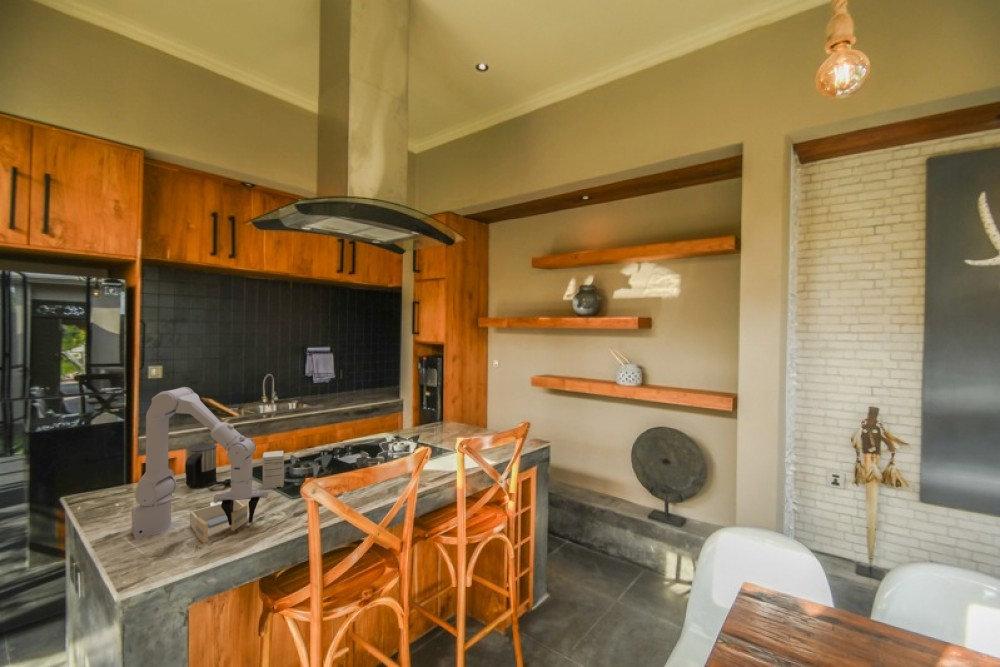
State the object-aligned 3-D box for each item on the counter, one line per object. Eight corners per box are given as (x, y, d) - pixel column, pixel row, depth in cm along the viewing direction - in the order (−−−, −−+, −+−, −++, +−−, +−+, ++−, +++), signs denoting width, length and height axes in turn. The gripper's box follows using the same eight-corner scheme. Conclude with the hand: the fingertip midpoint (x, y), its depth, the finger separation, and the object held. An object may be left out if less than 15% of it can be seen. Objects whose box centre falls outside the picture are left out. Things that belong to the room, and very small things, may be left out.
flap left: (195, 536, 131) (195, 518, 131) (199, 534, 132) (199, 516, 132) (203, 543, 127) (203, 524, 127) (207, 542, 128) (207, 523, 127)
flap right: (245, 521, 141) (245, 504, 141) (248, 521, 141) (248, 504, 141) (230, 530, 135) (230, 513, 134) (234, 531, 135) (234, 513, 134)
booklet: (210, 528, 136) (210, 525, 136) (203, 524, 138) (203, 521, 138) (231, 520, 141) (231, 518, 141) (224, 517, 143) (224, 514, 143)
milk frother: (192, 481, 175) (192, 444, 175) (238, 477, 181) (238, 441, 180) (182, 495, 162) (182, 455, 161) (231, 489, 168) (231, 451, 167)
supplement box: (263, 483, 174) (263, 452, 174) (284, 481, 177) (284, 450, 177) (262, 490, 168) (262, 457, 167) (283, 487, 171) (283, 455, 170)
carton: (197, 536, 132) (197, 519, 132) (190, 527, 137) (190, 511, 137) (245, 521, 141) (245, 506, 141) (236, 514, 147) (236, 499, 147)
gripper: (270, 472, 142) (269, 514, 142) (218, 476, 137) (218, 519, 138) (266, 480, 135) (265, 523, 136) (211, 484, 131) (211, 529, 131)
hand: (241, 522), depth 136 cm, fingers open, 5 cm apart
